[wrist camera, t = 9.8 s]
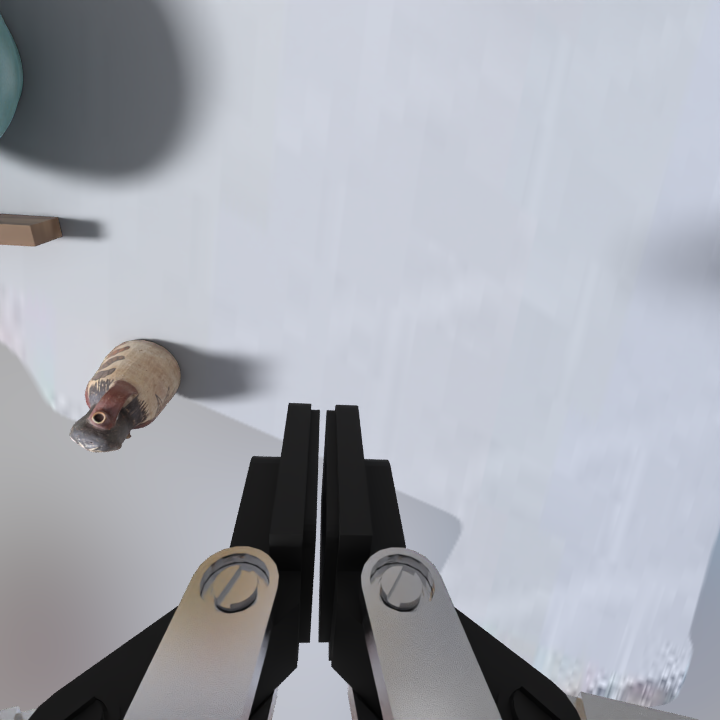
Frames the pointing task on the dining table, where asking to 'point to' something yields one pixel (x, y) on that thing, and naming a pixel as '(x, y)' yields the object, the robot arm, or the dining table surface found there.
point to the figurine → (126, 394)
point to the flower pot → (9, 77)
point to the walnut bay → (28, 229)
